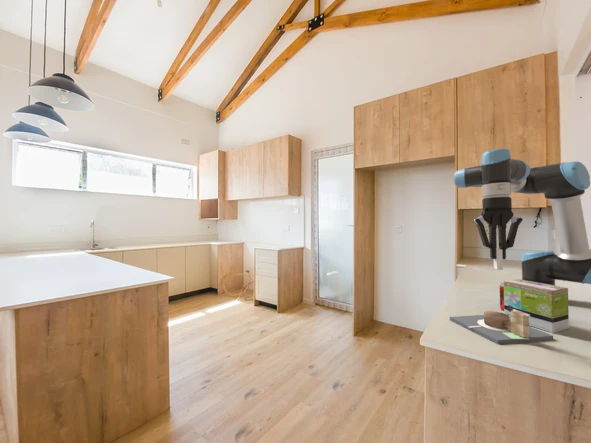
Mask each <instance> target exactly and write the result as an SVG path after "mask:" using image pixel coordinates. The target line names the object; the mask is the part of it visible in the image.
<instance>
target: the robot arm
mask: <svg viewBox="0 0 591 443" xmlns="http://www.w3.org/2000/svg"><path fill="white" fill-rule="evenodd" d="M480 162H481V163H480V165H477V166H471V167H470V166H469V167H467V168H466V167H465V168H462V169H458V170H456V171H455V172H454V175H453V182H454V185H455V187H457V188H461V189H462V188H464V189H466V188H471V187H472V188H473V187H474V188H481V193H482V194H481V195H482V212H481V214H480V216H479V217H477V218H474V219H473V223H474V224H475V225H476V227H477V230H478V233H479V236H480V237H479V238H480V239H481V242H482V246H483V247H485V248H488V249H489V257H490V259H492V260H493V269H495V270H497V271H503V270H504V264H503V262H504V261H503V260H506V258H507V250H508V249H510V248H513V247H514V244H515V240H516V237H517V232H518V230H519V226H520V225H521V223H522V222H523V218H522V217H518V216H516V215H515V214H514V212H513V211H512V208H513V207H512V206H513V205H512V200H513V199H512V197H511V195H512V193H516V194H523V195H524V194H525V195H528V194H529V195H531V194H532V195H537V194H543V195H544V198H545V199H546V200H547V201H550V204H551V208H552V214H553V219H554V224H555V229H556V234H557V239H558V244H559V249H560V250H558V251H557V252H556V253H555V251H554V250H540V251H538V250H537V251H525V252H523V253H522V254H521V261H520V262H521V280H526V281H532V282H537V283H543V284H548V285H554V286H556V281H563V282H569V283H570V282H571V283H580V284H583V285H584V284H587V285H591V249H590V245H589V239H588V234H587V229H586V228H587V227H586V222H585V217H584V211H583V206H582V202H581V201H582V198H581V196H583V195H584V194H585V190H587V189H590V187H591V186H590V185H591V178H590V174H589V171H588V169H587V167H586V166H585V165H584V164H583V163H582V162H581V161H576V160H575V161H568V162H567V161H565V162H559V163H553V164H549V165H542V166H541V165H540V166H534V167H530V165H529V164H528V163H527V162H525V161H523V160H521V159H515V158H512V155H511V150H510V149H509V148H496V149H490V150H486V151H484V152H483V153H482V154H481V161H480ZM484 221H485V223H486V224H487V225H488V226H487V227H488V232H489V233H488V235H487V231H486V228H485V226H484ZM509 222H511V223H510V226H509V230H508V234H507V224H508V223H509ZM497 234H498V235H497ZM488 236H489V237H488ZM497 236H498V240H497ZM497 243H498V244H497ZM497 245H498V246H497ZM497 247H498V248H497Z"/></svg>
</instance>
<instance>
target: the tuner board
mask: <svg viewBox="0 0 591 443" xmlns="http://www.w3.org/2000/svg"><path fill="white" fill-rule="evenodd" d="M449 321H451V322H453V323H455V324H458V326H461V327H463V328H464V329H466V330H468V331H470V332H472V333H475V334H476V335H479V336H481V337H482V338H484V339H487V340H489V341H490V342H491V343H492V342H493V343H494V344H496V345H505V344H515V343H527V342H528V343H529V342H539V341H552V340H554V335H552V334H550V333H547V332H546V331H543V330H540V329H538V328H535V327H532V326H529V337H522V336H519V335H517V334H515V333H513V332H511V329H509V328H507V329H501V328H495V327H491V326H488V325H486V324H485V323H484V314H479V315H478V314H473V315H460V316H459V315H458V316H449ZM509 321H510V322H511V320H510V319H509Z"/></svg>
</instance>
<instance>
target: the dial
mask: <svg viewBox="0 0 591 443" xmlns="http://www.w3.org/2000/svg"><path fill="white" fill-rule="evenodd" d="M483 315H484V323H485V324H486V325H488V326H491V327H495V328H501V329H507V328H509V329H511V332H513V333H515V334H517V335H519V336H522V337H529V327H530V326H529V316H530V315H529V314H527V313H524V312H521V311H518V310H515V309H513V311H511V322H510V321H509V316H508V315H506V314H504V312H499V311H493V310H492V311H491V310H490V311H489V310H487V311H484V312H483Z"/></svg>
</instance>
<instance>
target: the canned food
mask: <svg viewBox="0 0 591 443" xmlns="http://www.w3.org/2000/svg"><path fill="white" fill-rule="evenodd" d="M499 308H500V310H501V311H503V312H504V282H502V283H501V282H500V283H499Z"/></svg>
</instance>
